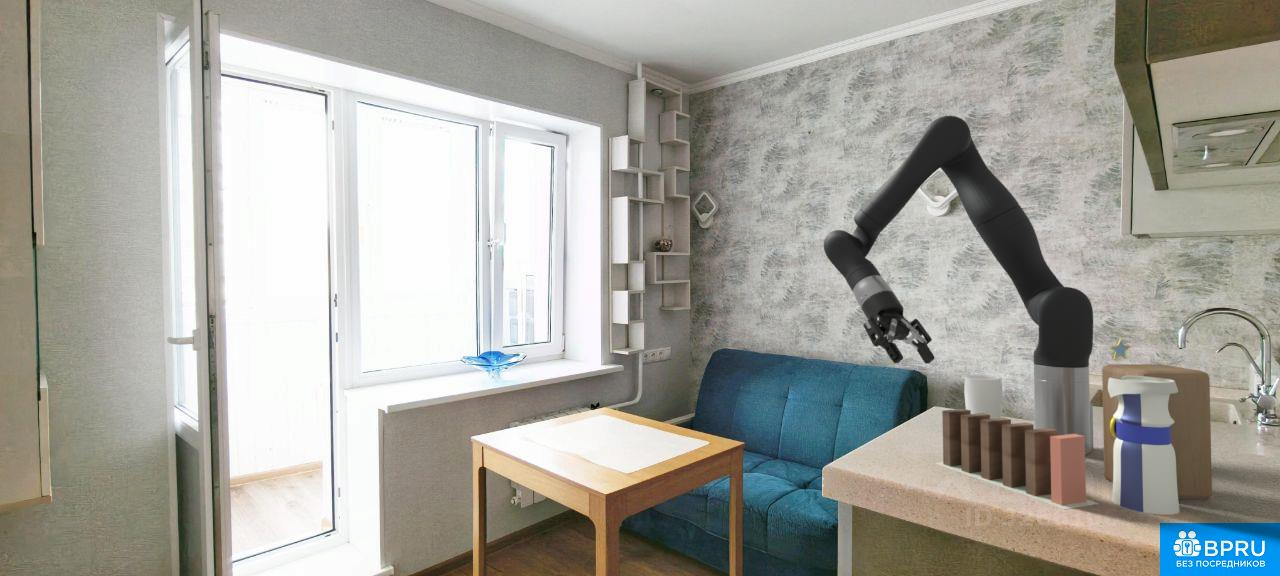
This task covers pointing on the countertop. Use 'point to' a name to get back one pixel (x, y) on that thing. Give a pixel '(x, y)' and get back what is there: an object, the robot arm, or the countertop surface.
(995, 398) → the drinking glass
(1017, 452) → the domino
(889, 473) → the countertop surface
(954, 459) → the domino
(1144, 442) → the white and blue jug
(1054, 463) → the domino
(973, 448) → the domino
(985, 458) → the domino
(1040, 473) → the domino
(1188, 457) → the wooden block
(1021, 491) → the mat
